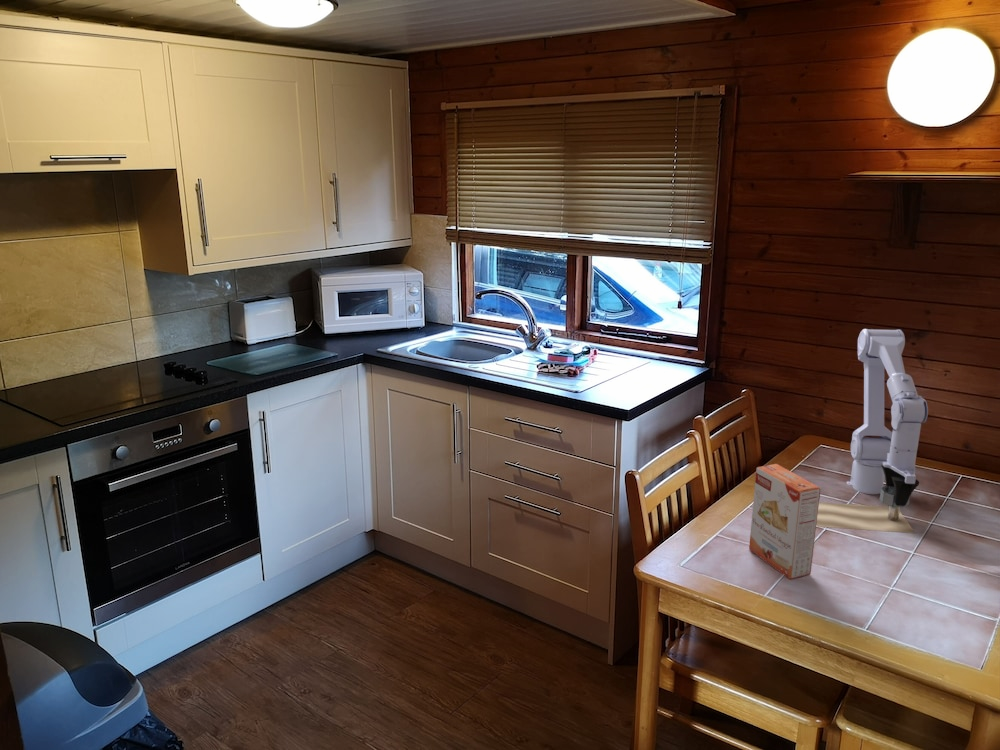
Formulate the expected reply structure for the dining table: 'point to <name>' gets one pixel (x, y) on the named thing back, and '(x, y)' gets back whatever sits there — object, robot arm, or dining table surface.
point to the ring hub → (889, 496)
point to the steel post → (893, 513)
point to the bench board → (860, 518)
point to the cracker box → (784, 520)
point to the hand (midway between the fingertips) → (895, 499)
